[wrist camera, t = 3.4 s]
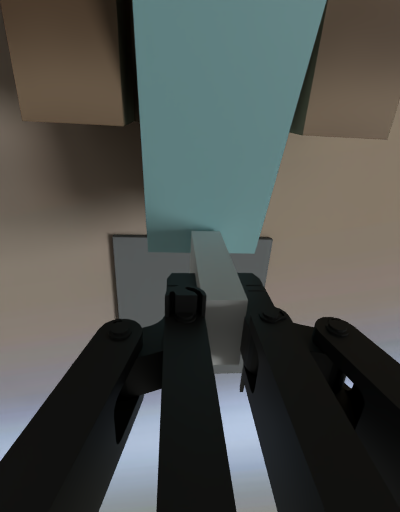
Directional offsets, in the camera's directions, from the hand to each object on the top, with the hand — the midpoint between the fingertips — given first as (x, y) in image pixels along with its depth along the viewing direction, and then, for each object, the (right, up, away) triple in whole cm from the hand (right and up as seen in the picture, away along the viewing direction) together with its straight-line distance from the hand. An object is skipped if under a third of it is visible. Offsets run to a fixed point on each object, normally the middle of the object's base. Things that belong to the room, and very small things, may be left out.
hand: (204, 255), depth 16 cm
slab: (0, +8, -1) cm, 8 cm away
